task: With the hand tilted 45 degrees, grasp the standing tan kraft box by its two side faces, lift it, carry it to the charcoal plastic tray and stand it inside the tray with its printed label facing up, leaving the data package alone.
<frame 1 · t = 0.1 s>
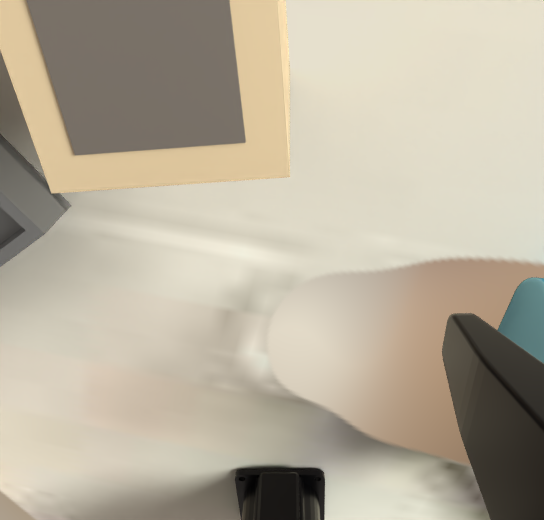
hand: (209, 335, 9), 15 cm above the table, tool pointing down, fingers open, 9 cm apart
kraft box: (223, 6, 19), on the table
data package: (522, 350, 28), on the table
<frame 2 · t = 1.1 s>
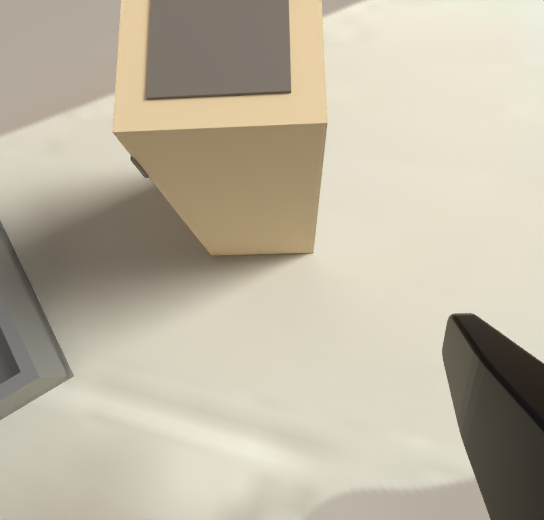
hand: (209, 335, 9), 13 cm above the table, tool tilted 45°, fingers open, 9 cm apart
kraft box: (261, 205, 24), on the table
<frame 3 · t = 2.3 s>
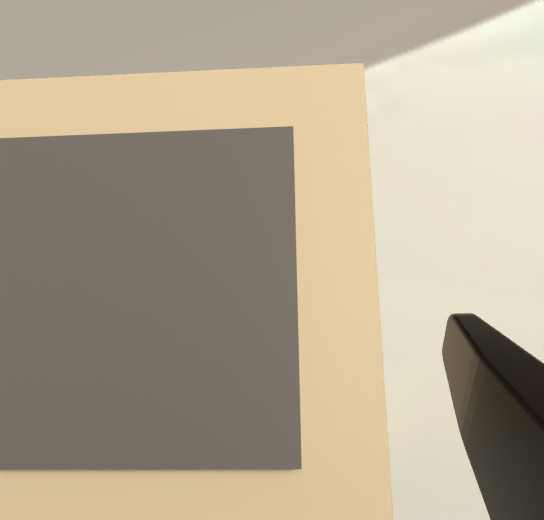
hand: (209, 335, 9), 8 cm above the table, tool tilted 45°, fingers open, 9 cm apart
kraft box: (252, 349, 17), on the table
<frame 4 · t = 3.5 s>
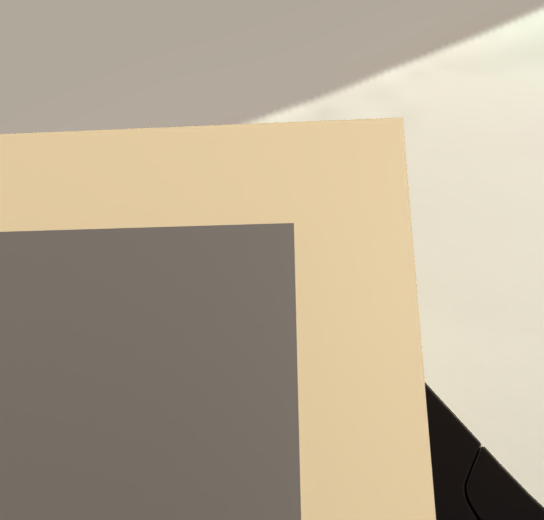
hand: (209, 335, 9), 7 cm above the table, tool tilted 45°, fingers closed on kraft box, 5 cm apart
kraft box: (247, 393, 15), on the table, touching gripper
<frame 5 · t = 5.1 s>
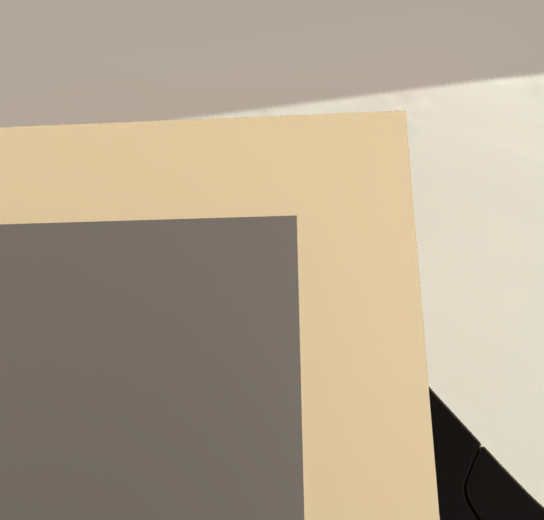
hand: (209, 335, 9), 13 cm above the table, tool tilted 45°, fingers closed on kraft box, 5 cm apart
kraft box: (247, 392, 15), point 7 cm above the table, touching gripper
when the fingers open (8 cm above the table, at t = 7.1 s): kraft box drops 1 cm, resting on tray.
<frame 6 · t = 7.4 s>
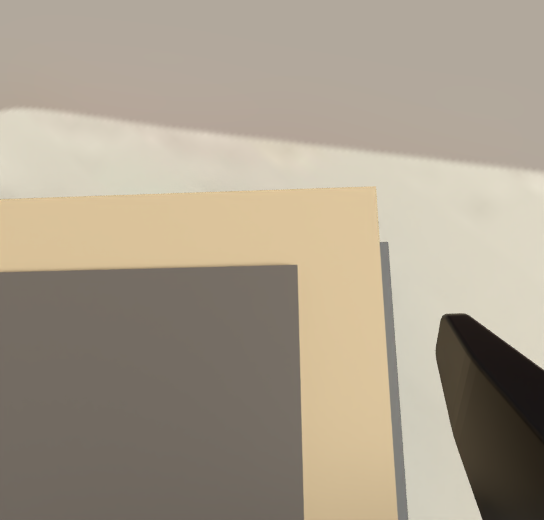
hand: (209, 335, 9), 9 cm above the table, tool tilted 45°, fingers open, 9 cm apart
kraft box: (252, 390, 16), point 1 cm above the table, touching tray
tray: (252, 390, 17), on the table
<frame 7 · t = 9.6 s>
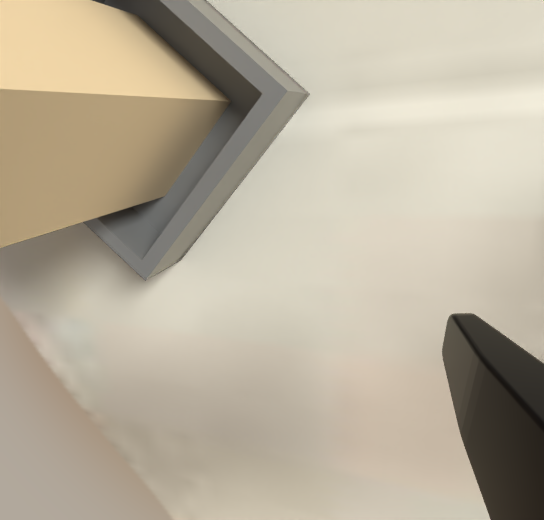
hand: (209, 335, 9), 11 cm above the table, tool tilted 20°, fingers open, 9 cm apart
kraft box: (151, 110, 19), point 1 cm above the table, touching tray
tray: (159, 111, 20), on the table
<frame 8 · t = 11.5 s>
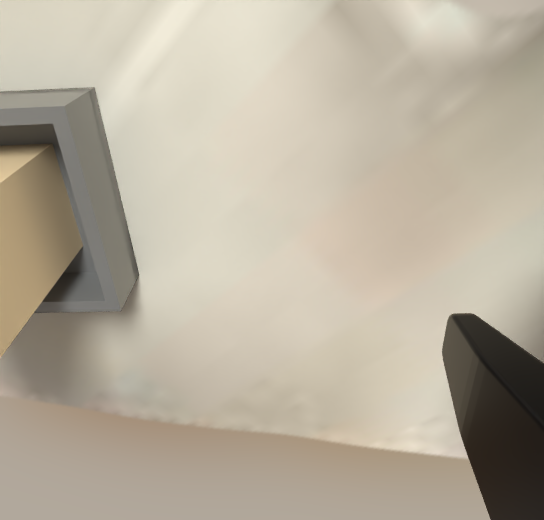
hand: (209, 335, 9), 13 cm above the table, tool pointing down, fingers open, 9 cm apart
kraft box: (15, 199, 21), point 1 cm above the table, touching tray
tray: (22, 194, 22), on the table
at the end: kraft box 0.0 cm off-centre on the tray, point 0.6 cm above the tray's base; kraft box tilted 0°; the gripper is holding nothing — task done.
